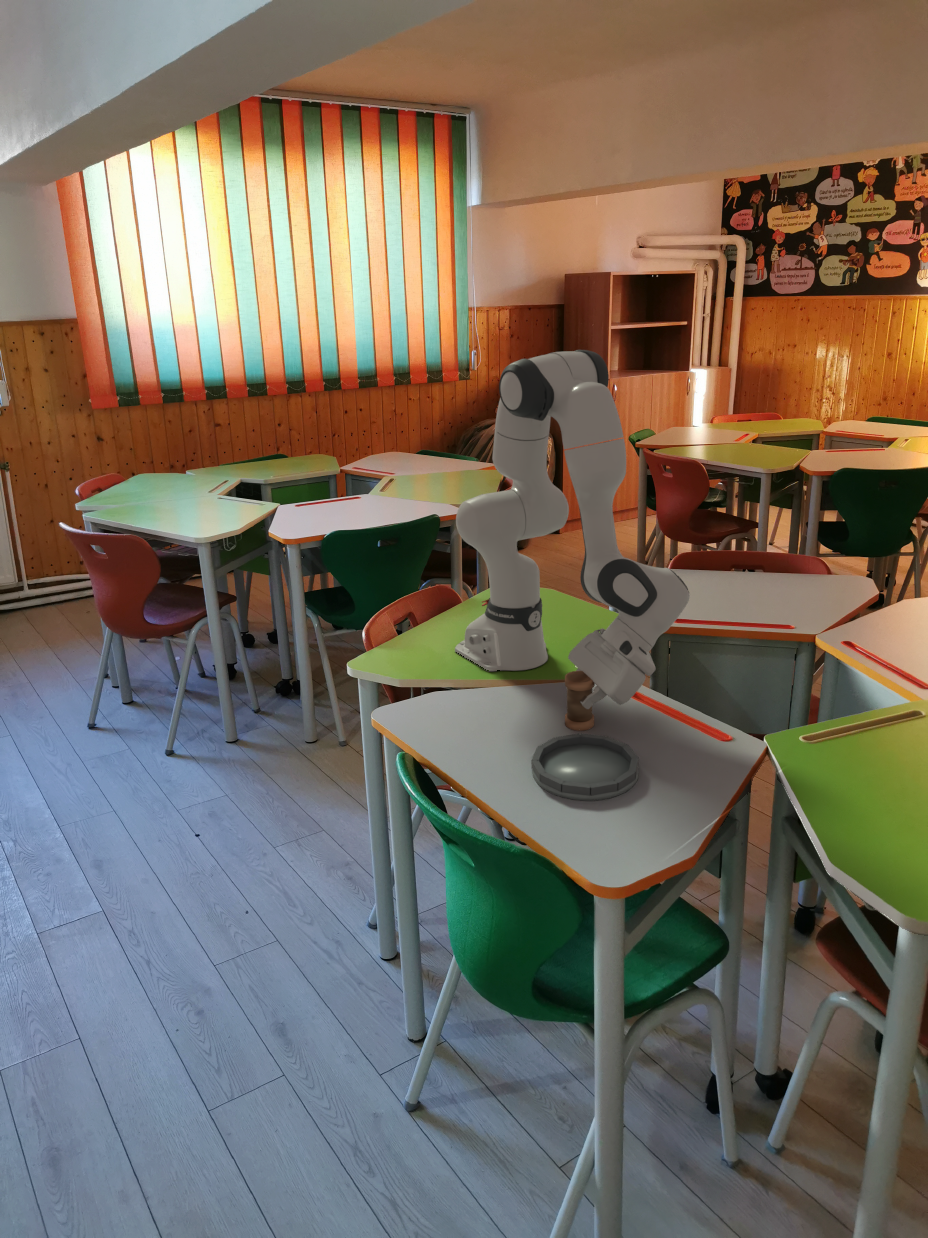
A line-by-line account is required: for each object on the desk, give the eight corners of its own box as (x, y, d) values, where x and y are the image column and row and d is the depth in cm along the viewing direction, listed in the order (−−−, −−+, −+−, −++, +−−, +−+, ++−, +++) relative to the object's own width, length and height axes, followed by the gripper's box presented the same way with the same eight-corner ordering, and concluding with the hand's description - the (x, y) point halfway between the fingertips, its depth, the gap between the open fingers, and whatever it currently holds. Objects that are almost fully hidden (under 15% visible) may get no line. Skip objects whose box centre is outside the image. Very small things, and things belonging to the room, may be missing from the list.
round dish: (510, 773, 155) (510, 760, 154) (578, 735, 167) (578, 723, 166) (592, 813, 143) (593, 800, 142) (659, 770, 154) (660, 757, 153)
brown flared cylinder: (559, 724, 171) (558, 677, 168) (577, 714, 175) (577, 668, 171) (581, 733, 168) (581, 686, 164) (600, 723, 171) (600, 676, 168)
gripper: (590, 616, 176) (544, 669, 177) (638, 654, 158) (588, 713, 159) (610, 634, 179) (565, 686, 180) (660, 673, 161) (610, 731, 162)
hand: (576, 699), depth 169 cm, fingers open, 5 cm apart
